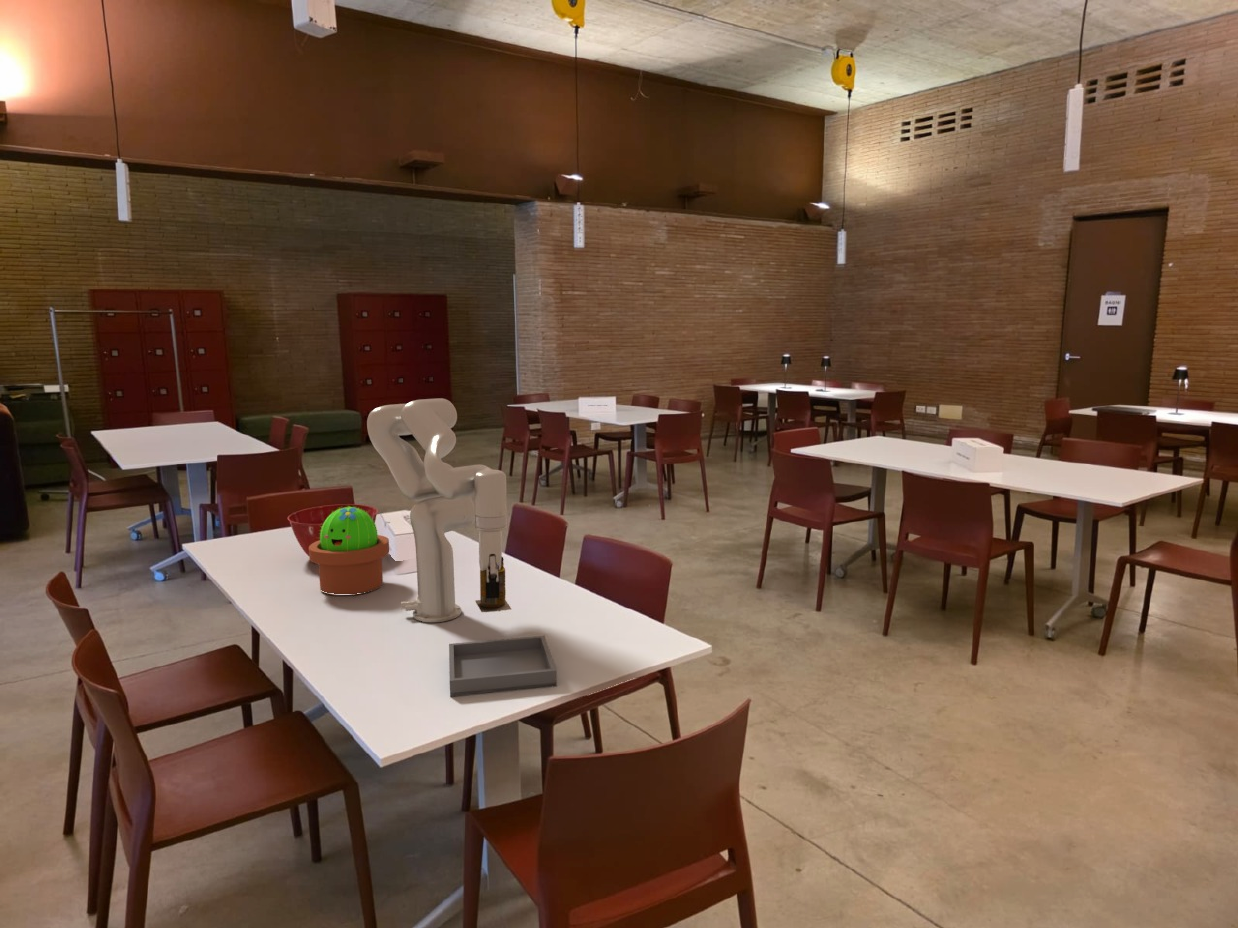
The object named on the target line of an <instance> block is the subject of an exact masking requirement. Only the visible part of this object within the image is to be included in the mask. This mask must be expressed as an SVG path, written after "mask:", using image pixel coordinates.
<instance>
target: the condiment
mask: <svg viewBox="0 0 1238 928" xmlns="http://www.w3.org/2000/svg"><path fill="white" fill-rule="evenodd" d="M489 561H490V555H489ZM504 565H505V564H504V557H503V556H502V559H501V569H500V570H499V571H498V581H499V598H488V599H487V598H486V582H487V575H486V570H483V571H481V570H480V569H479V583H480V585H479V586H480V587H479V589H480V591H479V596H480V599H478V600H474V601H475V603H476V605H477V608H478V609H479V611H480V612H481V613H491V612H492V613H494V612H501V611H502V612H503V611H508V610H512V608H511V606H510V604H509V603H508V602H507V599H506V595H507V594H506V591H507V590H506V568H505V567H504ZM488 569H490V567H488ZM489 574H490V572H489Z"/></svg>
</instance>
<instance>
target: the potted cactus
mask: <svg viewBox="0 0 1238 928" xmlns="http://www.w3.org/2000/svg"><path fill="white" fill-rule="evenodd" d="M356 507H357V506H356ZM339 508H340V507H339ZM374 522H375V523H374ZM323 523H324V524H323V526H321V527H322V528H321V530H320V531H321V533H320V540H319V541H316V542H314V543H312V544H311V545H310V546H309V556H308V557H309V561H310V562H311V563H314V564H317V565H318V571H319V572H318V574H319V588H320V591H321V590H322V591H324V592H327V593H334V594H357V593H364V592H368V591H371V590H373V591H375V589H376V590H377V589H379V588H381V586H382V585H383V582H384V580H383V579H384V576H383V563H382V562H383V561H382V559H383V558H384V557H386V556H388V554H389V553H390V540H389V538H388V537H387V536H385V535H380V534H378V532H379V529H377V525H376V520H375V521H373V519H372V518H371V517H370V516H369V515H368V514H367V513H366V512H365V511H363V510H361V509H359V508H355V507H354V506H353V507H350V506H349V507H344V508H340V509H338V510H336V511H334V512H332V514H330V515H329V516H328V517H327V519H326V520H325V522H323ZM322 591H321V592H322ZM371 592H372V591H371ZM368 593H369V592H368ZM364 594H365V593H364Z"/></svg>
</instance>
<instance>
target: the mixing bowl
mask: <svg viewBox="0 0 1238 928" xmlns="http://www.w3.org/2000/svg"><path fill="white" fill-rule="evenodd" d="M349 506H350V507H353V506H354V507H355V508H359V509H361V510H363V511H365V512H366V513H367V514H368V515H369V516H370V517H371V518H372V519H373V521H375V522H374V523H375V524H376V520H377V514H378V513H379V509H378V508H376V507H375V506H370V505H365V504H354V503H353V504H351V503H347V504H346V503H345V504H343V503H342V504H329V505H321V506H314V507H310V508H305V509H301V510H298V511H295V512H292V513H291V514H290V515H288V516H287V520H288V521H289V525H290V527H291V529H292V532H293V534H294V536H295V539H296V541H297V543H298V544H299V546H300V547H301V549H302V550H303V552H304V553H305V554H306V555H307V556H308V557H309V546H310V545H311V544H312V543H314V542H316V541H319V540H320V533H321V531H320V530H321V528H322V527H321V526H323V524H324V523H323V522H325V520H326V519H327V517H328V516H329V515H330V514H332V512H334V511H336V510H338V509H340V508H344V507H349ZM356 506H357V507H356ZM339 507H340V508H339Z"/></svg>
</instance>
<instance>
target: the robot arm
mask: <svg viewBox="0 0 1238 928" xmlns="http://www.w3.org/2000/svg"><path fill="white" fill-rule="evenodd" d="M457 421H458V413H457V410H456V407H455V406H454V404H453V403H452V402H451V401H450V400H448V399H446V398H442V397H441V398H426V399H416V400H412V401H409V402H408V403H398V404H396V403H395V404H386V405H381V406H379V407H378V406H377V407H376V408H374V409H373V410H371V411H370V412H369V414H368V417H367V420H366V426H367V427H366V428H367V433H368V437H369V440H370V441H371V444H372V446H373V447H374V449H375V450H376V451H377V453H378V454H379V455H380V456H381V458H382V459H383V460H384V462H385V463H386V465H387V466H388V468H389V471H390V473H391V475H392V477H393V479H394V480H395V483H396V484H397V486H398V488H399V490H400V492H401V493H402V495H403V497H404V498H405V499H406V500H407V501H411V502H416V503H415V504H414V505H413V506H412V507H411V509H410V513H409V517H410V524H411V529H412V532H413V537H414V538H413V539H414V543H415V545H414V546H415V559H416V561H415V563H416V578H417V597H416V599H413V601H401V602H400V608H401V610H405V612H410V611H413V612H412V617H413V619H415V620H416V621H418V622H421V621H422V622H421V623H441V622H443V623H444V622H447V621H450V620H454V619H456V618H457V617H459V616H460V615H461V614H462V607H461V606H460V605H458V604H456V591H455V589H456V587H455V569H454V568H455V567H454V550H453V546H452V543H450V541H449V540H448V538H447V537H446V536H445V534H446V533H450V532H454V531H458V530H462V529H466V528H468V527H471V526H472V525H473V524H474V523H475V524H474V529H475V530H477V531H478V533H479V534H478V556H479V557H478V564H479V571H480V570H481V571H483V570H486V575H487V582H486V598H487V599H488V598H499V581H498V571H499V570H500V569H501V559H502V557H503V556H502V555H503V535H502V534H503V530H505V529H507V527H508V526H507V524H508V522H507V521H508V519H507V517H508V516H507V515H508V514H507V513H508V511H507V510H508V509H507V507H508V504H507V503H508V501H507V475H506V473H505V472H504V471H503V470H500V469H492V468H491V467H489V466H487V465H484V464H481V463H479V464H472V465H463V466H457V467H453V466H452V465H451V464H449V463H447V462H443V460H442V459H443V458H444V457H446V456H447V455H449V454H450V453H451V451H452V450H453V449H454V448H455V446H456V443H457V437H456V433H455V432H454V430H452V428H454V426H455V425H456V423H457ZM409 435H412V437H414V439H415V440H416V442H418V444H419V445H420V446H421V447H422V449H423V450H424V451H425V455H424V457H423V458H424V459H423V460H422V459H421V457H420V455H419V453H418V451H417V450H416V448H415V447H414V446H413V445H412V444H410V443H409V442H408V441H406V440H404V439H403V438H401V437H400V436H409ZM472 497H474V501H473V498H472ZM489 555H490V561H489ZM488 567H490V569H488ZM489 572H490V574H489Z"/></svg>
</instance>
